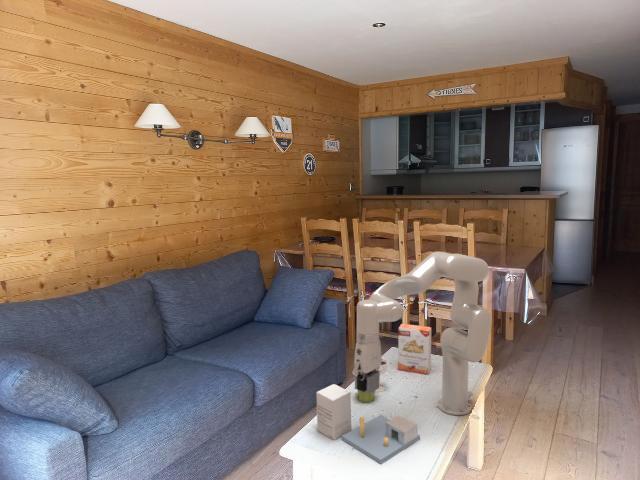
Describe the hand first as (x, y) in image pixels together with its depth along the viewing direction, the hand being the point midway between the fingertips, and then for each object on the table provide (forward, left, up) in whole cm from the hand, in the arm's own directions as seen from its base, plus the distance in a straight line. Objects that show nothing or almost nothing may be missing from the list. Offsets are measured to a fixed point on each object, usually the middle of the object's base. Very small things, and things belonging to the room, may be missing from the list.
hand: (367, 386), depth 158 cm
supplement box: (+6, -10, -19) cm, 22 cm away
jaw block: (0, 0, -1) cm, 1 cm away
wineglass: (-29, -20, -19) cm, 40 cm away
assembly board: (-2, +5, -18) cm, 19 cm away
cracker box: (-54, -21, -19) cm, 61 cm away
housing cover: (-7, +10, -17) cm, 21 cm away
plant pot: (-19, -18, -19) cm, 32 cm away
